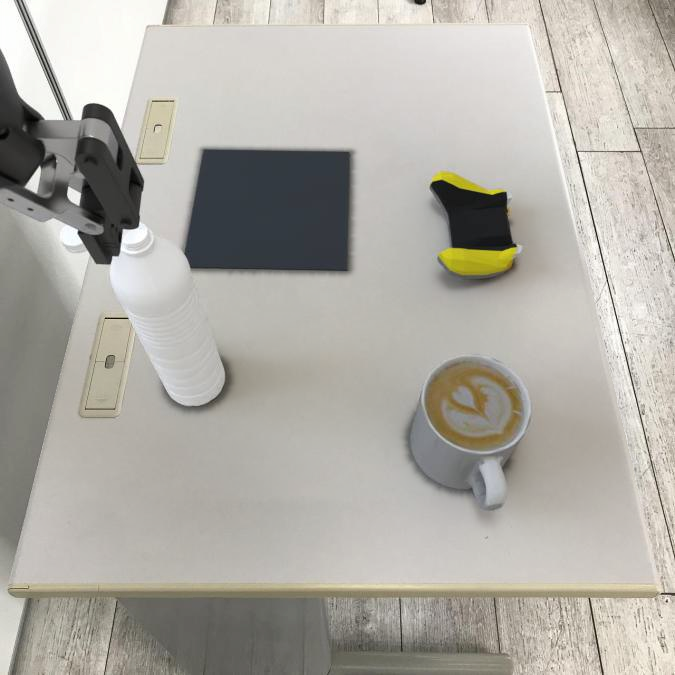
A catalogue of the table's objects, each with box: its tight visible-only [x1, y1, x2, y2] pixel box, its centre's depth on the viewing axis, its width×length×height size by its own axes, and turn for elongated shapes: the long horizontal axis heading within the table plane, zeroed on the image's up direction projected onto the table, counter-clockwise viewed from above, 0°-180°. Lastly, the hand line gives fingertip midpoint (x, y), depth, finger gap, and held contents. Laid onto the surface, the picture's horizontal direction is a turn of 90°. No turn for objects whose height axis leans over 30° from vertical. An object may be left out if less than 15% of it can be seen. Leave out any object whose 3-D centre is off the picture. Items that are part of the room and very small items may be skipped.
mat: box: [184, 148, 350, 272], centre depth 82 cm, size 20×20×1 cm
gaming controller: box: [429, 170, 523, 280], centre depth 77 cm, size 15×6×10 cm
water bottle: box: [59, 221, 226, 407], centre depth 59 cm, size 9×6×25 cm
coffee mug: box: [409, 353, 532, 512], centre depth 61 cm, size 13×10×10 cm
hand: (26, 246), depth 34 cm, fingers open, 8 cm apart
